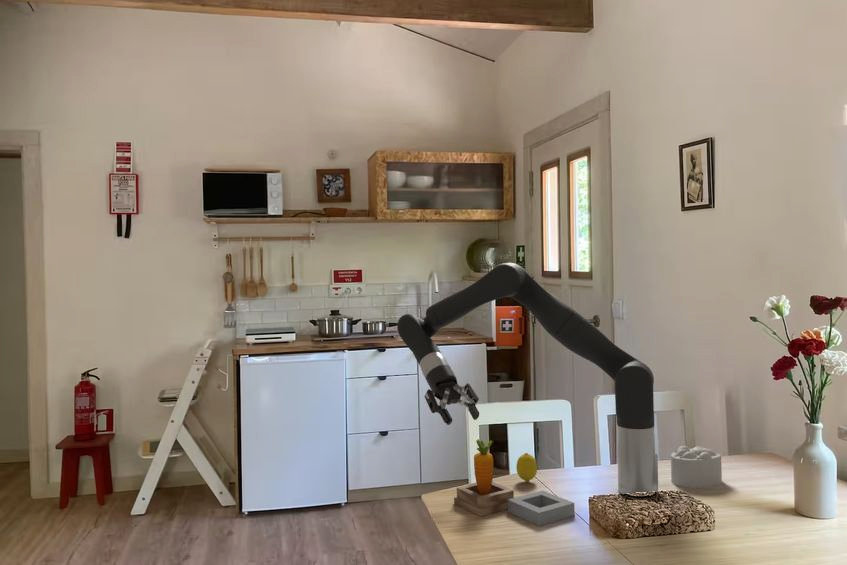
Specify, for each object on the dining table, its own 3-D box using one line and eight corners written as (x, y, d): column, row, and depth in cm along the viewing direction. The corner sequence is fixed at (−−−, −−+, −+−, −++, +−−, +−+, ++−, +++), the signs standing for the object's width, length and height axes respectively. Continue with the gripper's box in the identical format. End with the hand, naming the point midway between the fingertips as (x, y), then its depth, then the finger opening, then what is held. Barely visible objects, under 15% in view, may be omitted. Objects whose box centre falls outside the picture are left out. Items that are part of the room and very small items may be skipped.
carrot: (496, 496, 167) (495, 437, 167) (491, 503, 163) (490, 442, 162) (477, 494, 169) (476, 435, 168) (471, 501, 164) (470, 440, 164)
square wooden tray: (489, 494, 173) (488, 479, 173) (516, 506, 164) (516, 490, 164) (454, 503, 168) (453, 487, 168) (480, 516, 158) (480, 499, 158)
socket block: (542, 502, 167) (542, 490, 167) (574, 515, 157) (574, 502, 157) (508, 512, 161) (507, 499, 161) (539, 526, 151) (538, 512, 151)
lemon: (536, 479, 185) (535, 450, 185) (538, 485, 180) (537, 455, 180) (516, 478, 186) (515, 450, 186) (517, 485, 180) (516, 455, 180)
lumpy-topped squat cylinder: (727, 483, 178) (726, 450, 178) (690, 490, 173) (689, 457, 172) (697, 472, 187) (696, 441, 187) (661, 479, 182) (660, 447, 182)
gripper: (420, 366, 179) (446, 416, 169) (463, 360, 186) (491, 407, 177) (410, 384, 183) (435, 433, 174) (453, 378, 191) (480, 424, 181)
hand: (463, 420), depth 175 cm, fingers open, 8 cm apart
